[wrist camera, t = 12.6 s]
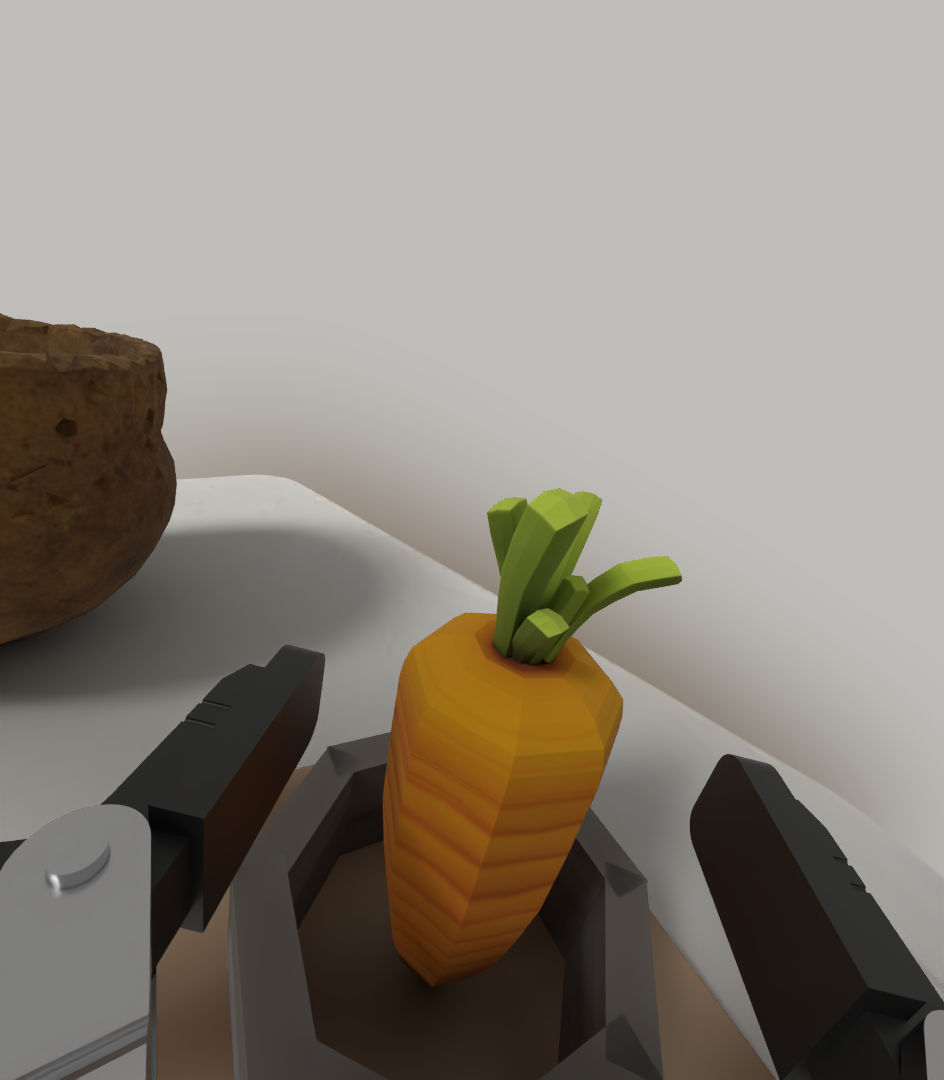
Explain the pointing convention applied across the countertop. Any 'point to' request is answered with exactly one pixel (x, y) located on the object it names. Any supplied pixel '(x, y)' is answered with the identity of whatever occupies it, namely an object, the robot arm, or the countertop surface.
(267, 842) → the ring holder
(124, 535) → the bowl
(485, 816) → the carrot
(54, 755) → the countertop surface
